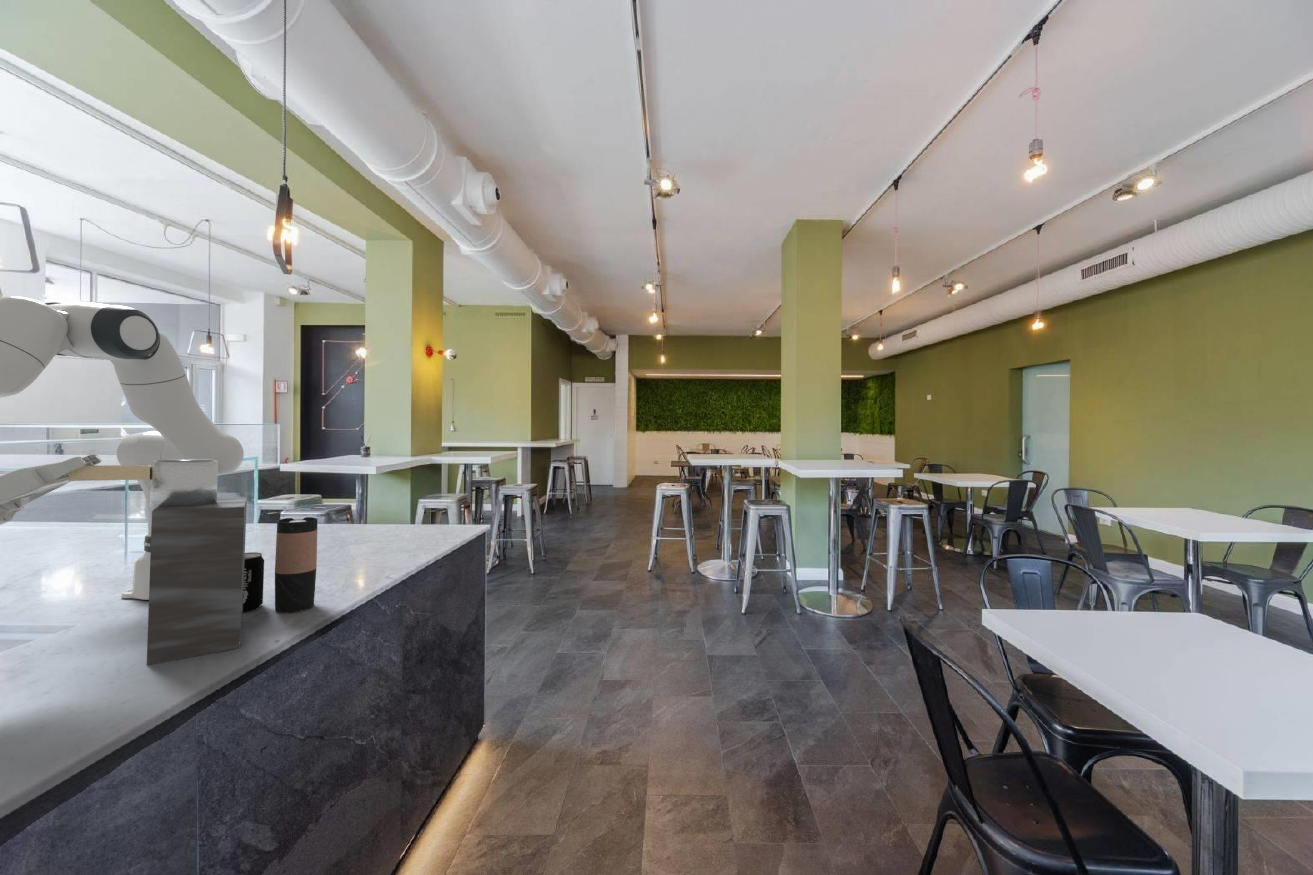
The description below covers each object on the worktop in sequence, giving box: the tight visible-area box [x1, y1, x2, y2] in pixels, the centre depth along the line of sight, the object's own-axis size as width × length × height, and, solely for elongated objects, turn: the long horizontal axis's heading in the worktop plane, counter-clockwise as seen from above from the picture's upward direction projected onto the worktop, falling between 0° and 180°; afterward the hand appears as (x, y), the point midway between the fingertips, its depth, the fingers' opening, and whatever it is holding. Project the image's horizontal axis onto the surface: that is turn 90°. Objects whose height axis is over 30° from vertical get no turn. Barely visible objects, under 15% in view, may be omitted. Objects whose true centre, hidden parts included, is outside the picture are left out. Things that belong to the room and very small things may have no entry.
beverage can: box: [243, 551, 265, 613], centre depth 111 cm, size 7×7×12 cm
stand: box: [146, 496, 248, 666], centre depth 94 cm, size 16×12×26 cm
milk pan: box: [69, 459, 219, 508], centre depth 89 cm, size 9×18×8 cm, turn 128°
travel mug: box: [274, 516, 318, 614], centre depth 113 cm, size 8×8×20 cm
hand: (91, 459), depth 85 cm, fingers open, 8 cm apart
